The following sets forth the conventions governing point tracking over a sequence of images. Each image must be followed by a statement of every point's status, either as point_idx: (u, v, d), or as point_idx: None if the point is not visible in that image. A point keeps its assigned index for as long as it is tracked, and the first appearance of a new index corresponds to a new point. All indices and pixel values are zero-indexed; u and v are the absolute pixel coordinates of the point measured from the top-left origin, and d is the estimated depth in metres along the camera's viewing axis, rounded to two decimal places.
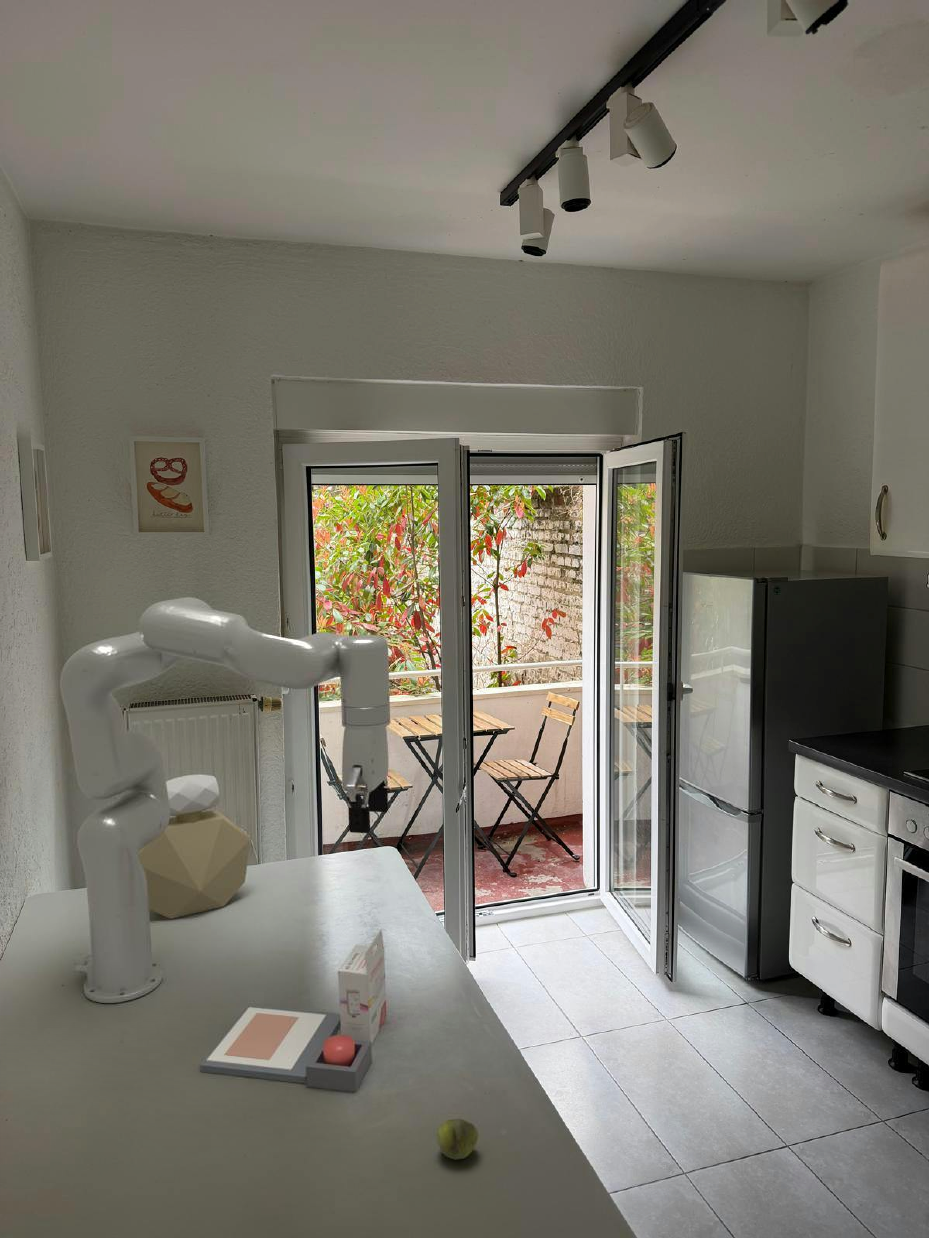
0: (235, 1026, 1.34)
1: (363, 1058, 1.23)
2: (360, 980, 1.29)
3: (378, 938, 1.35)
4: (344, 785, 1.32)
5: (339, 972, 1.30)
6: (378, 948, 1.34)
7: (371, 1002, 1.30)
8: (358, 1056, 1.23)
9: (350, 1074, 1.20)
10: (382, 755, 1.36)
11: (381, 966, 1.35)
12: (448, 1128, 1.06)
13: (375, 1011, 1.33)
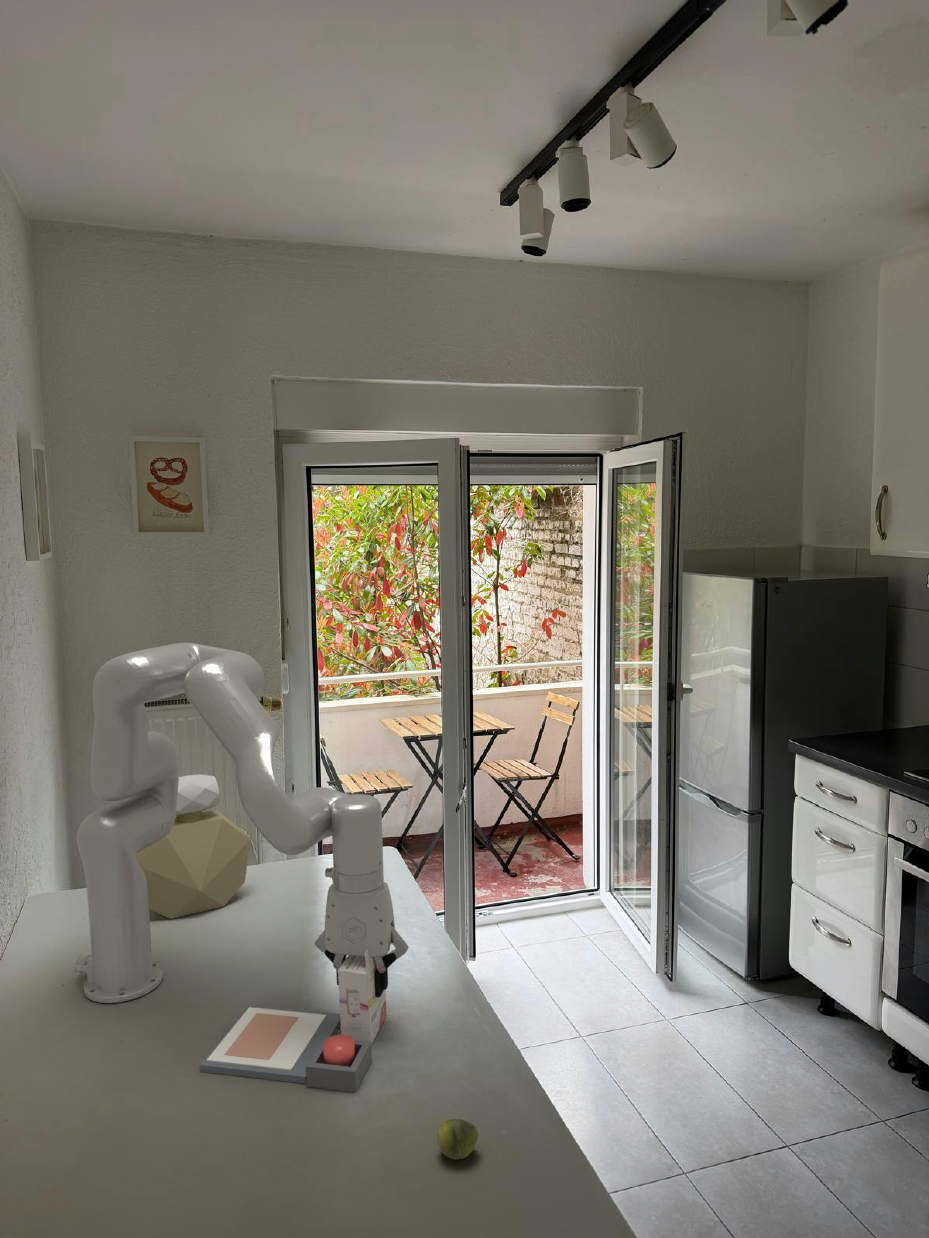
0: (235, 1026, 1.34)
1: (363, 1058, 1.23)
2: (360, 980, 1.29)
3: None
4: (388, 948, 1.30)
5: (339, 972, 1.30)
6: None
7: (371, 1002, 1.30)
8: (358, 1056, 1.23)
9: (350, 1074, 1.20)
10: None
11: None
12: (448, 1128, 1.06)
13: (375, 1011, 1.33)
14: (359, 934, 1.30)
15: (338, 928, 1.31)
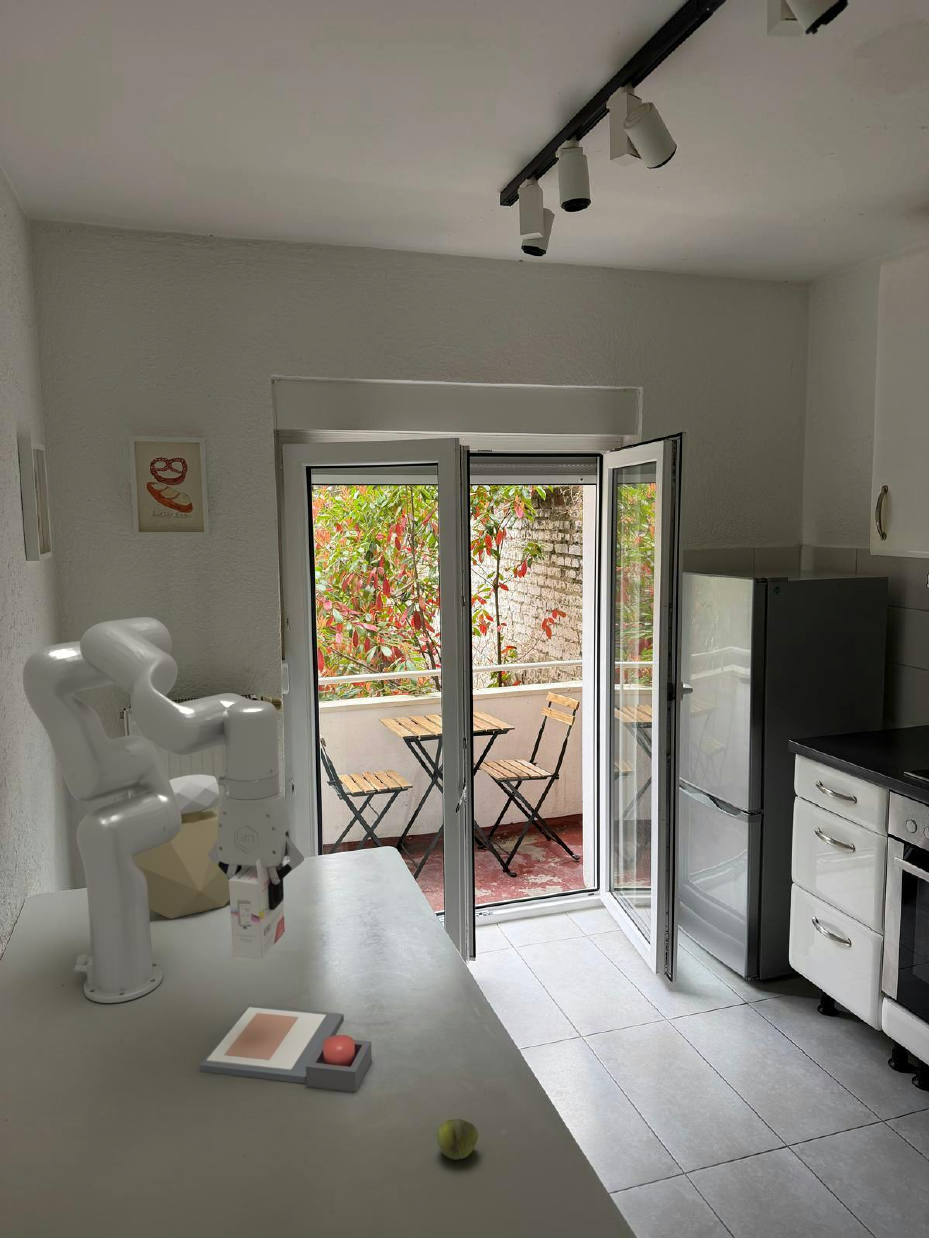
0: (235, 1026, 1.34)
1: (363, 1058, 1.23)
2: (251, 890, 1.25)
3: None
4: (281, 858, 1.26)
5: (230, 882, 1.25)
6: None
7: (263, 914, 1.26)
8: (358, 1056, 1.23)
9: (350, 1074, 1.20)
10: None
11: None
12: (448, 1128, 1.06)
13: (269, 924, 1.28)
14: (251, 843, 1.26)
15: (230, 837, 1.26)
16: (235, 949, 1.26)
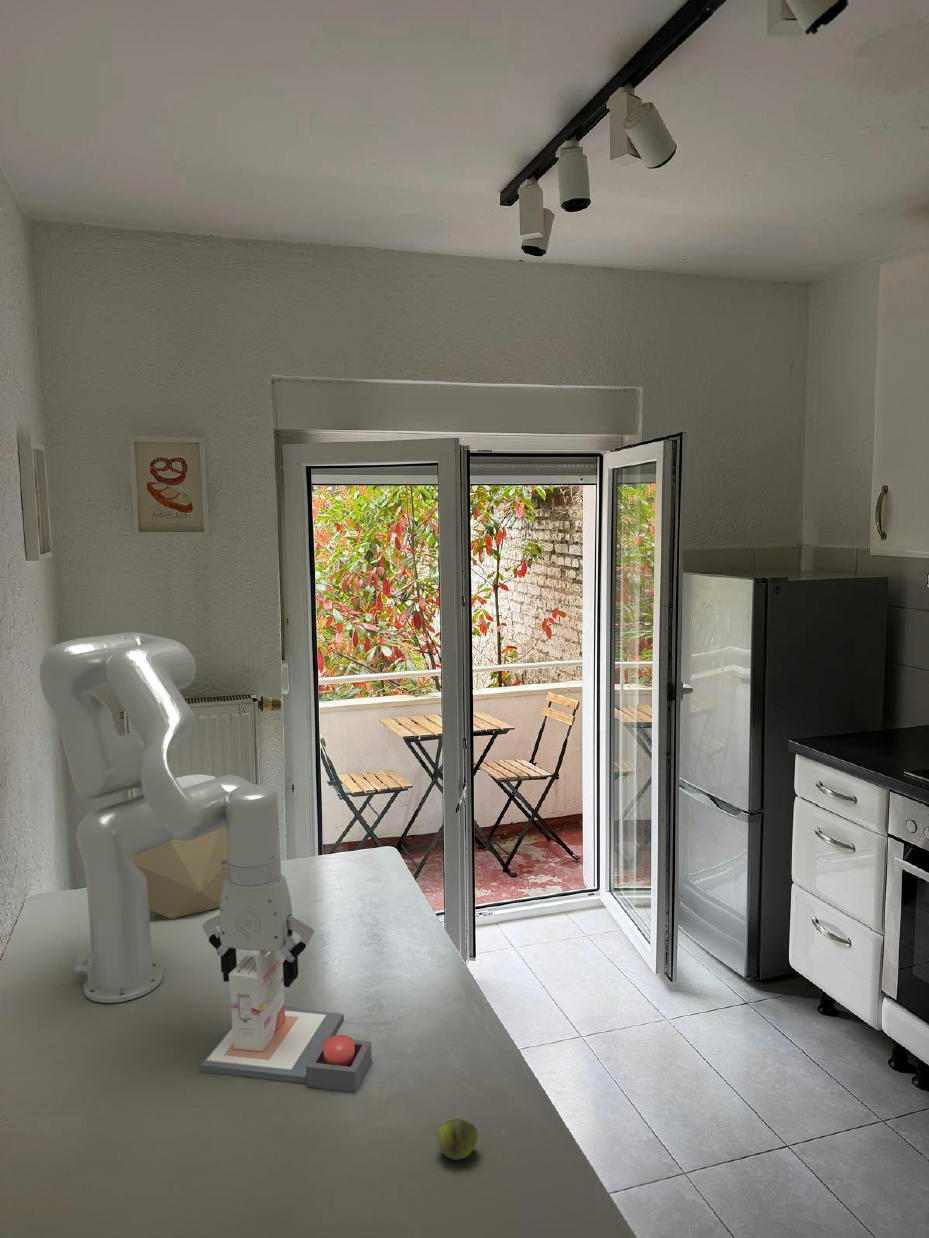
0: None
1: (363, 1058, 1.23)
2: (251, 984, 1.26)
3: None
4: (283, 942, 1.27)
5: (230, 976, 1.27)
6: (274, 951, 1.31)
7: (263, 1007, 1.27)
8: (358, 1056, 1.23)
9: (350, 1074, 1.20)
10: None
11: (277, 969, 1.32)
12: (448, 1128, 1.06)
13: (269, 1016, 1.29)
14: (253, 928, 1.27)
15: (232, 922, 1.27)
16: (235, 1041, 1.28)
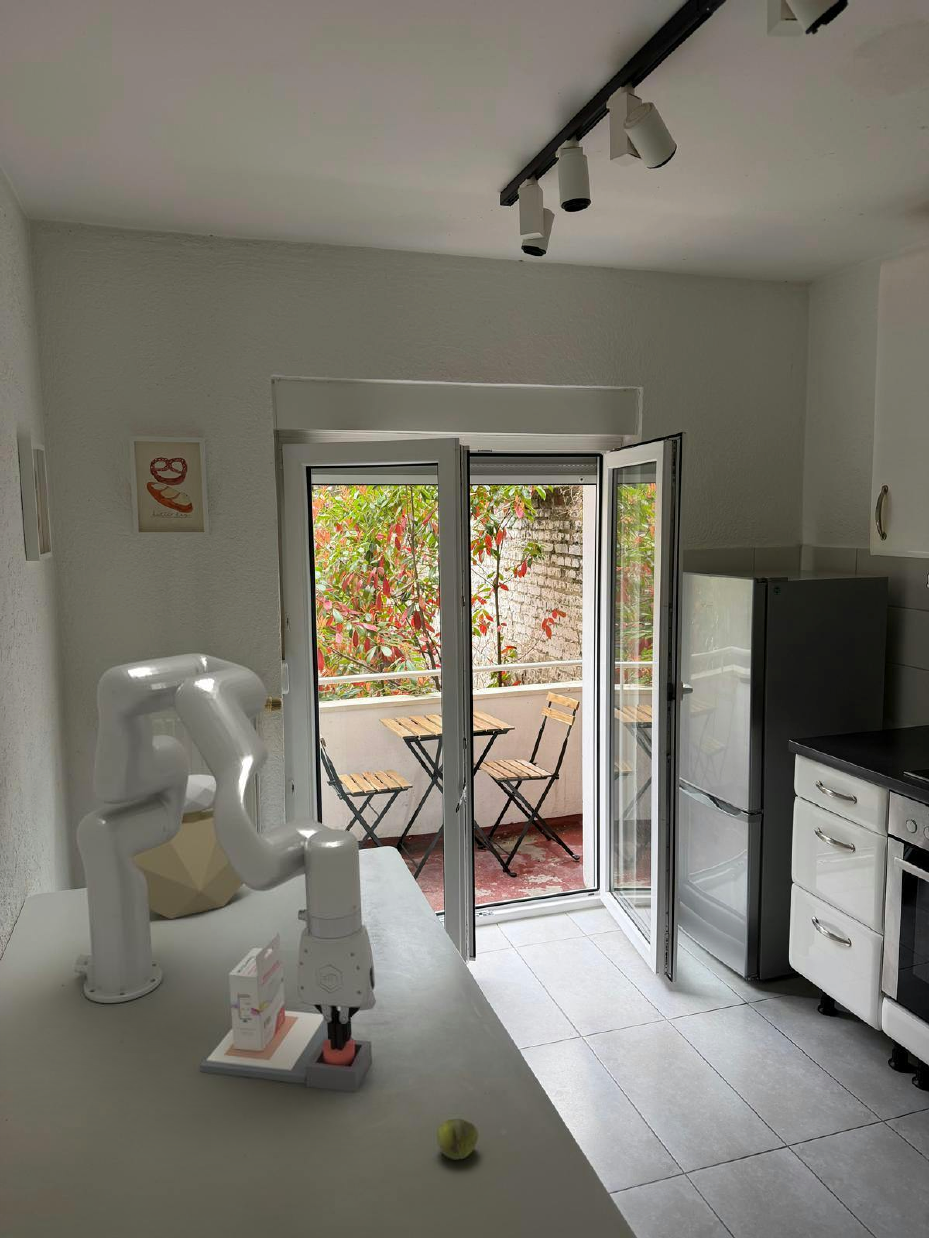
0: None
1: (363, 1058, 1.23)
2: (251, 984, 1.26)
3: (274, 941, 1.32)
4: (366, 998, 1.20)
5: (230, 976, 1.27)
6: (273, 951, 1.31)
7: (263, 1007, 1.27)
8: (358, 1056, 1.23)
9: (350, 1074, 1.20)
10: None
11: (277, 969, 1.32)
12: (448, 1128, 1.06)
13: (269, 1016, 1.29)
14: (335, 982, 1.20)
15: (312, 976, 1.20)
16: (235, 1041, 1.28)
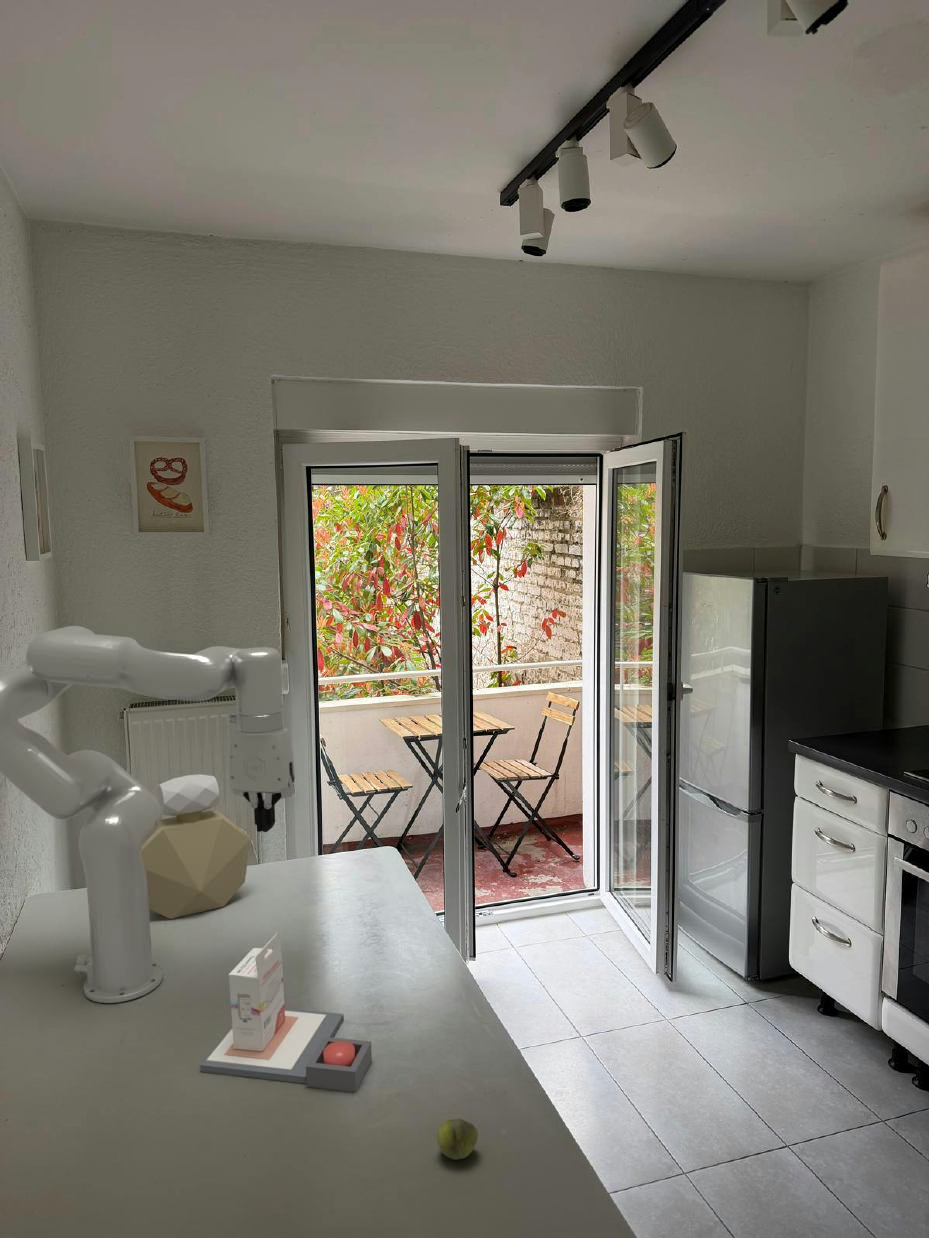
0: None
1: (363, 1058, 1.23)
2: (251, 984, 1.26)
3: (274, 941, 1.32)
4: (286, 785, 1.43)
5: (230, 976, 1.27)
6: (274, 951, 1.31)
7: (263, 1007, 1.27)
8: (358, 1056, 1.23)
9: (350, 1074, 1.20)
10: None
11: (277, 969, 1.32)
12: (448, 1128, 1.06)
13: (269, 1016, 1.29)
14: (259, 772, 1.43)
15: (240, 767, 1.43)
16: (235, 1041, 1.28)
